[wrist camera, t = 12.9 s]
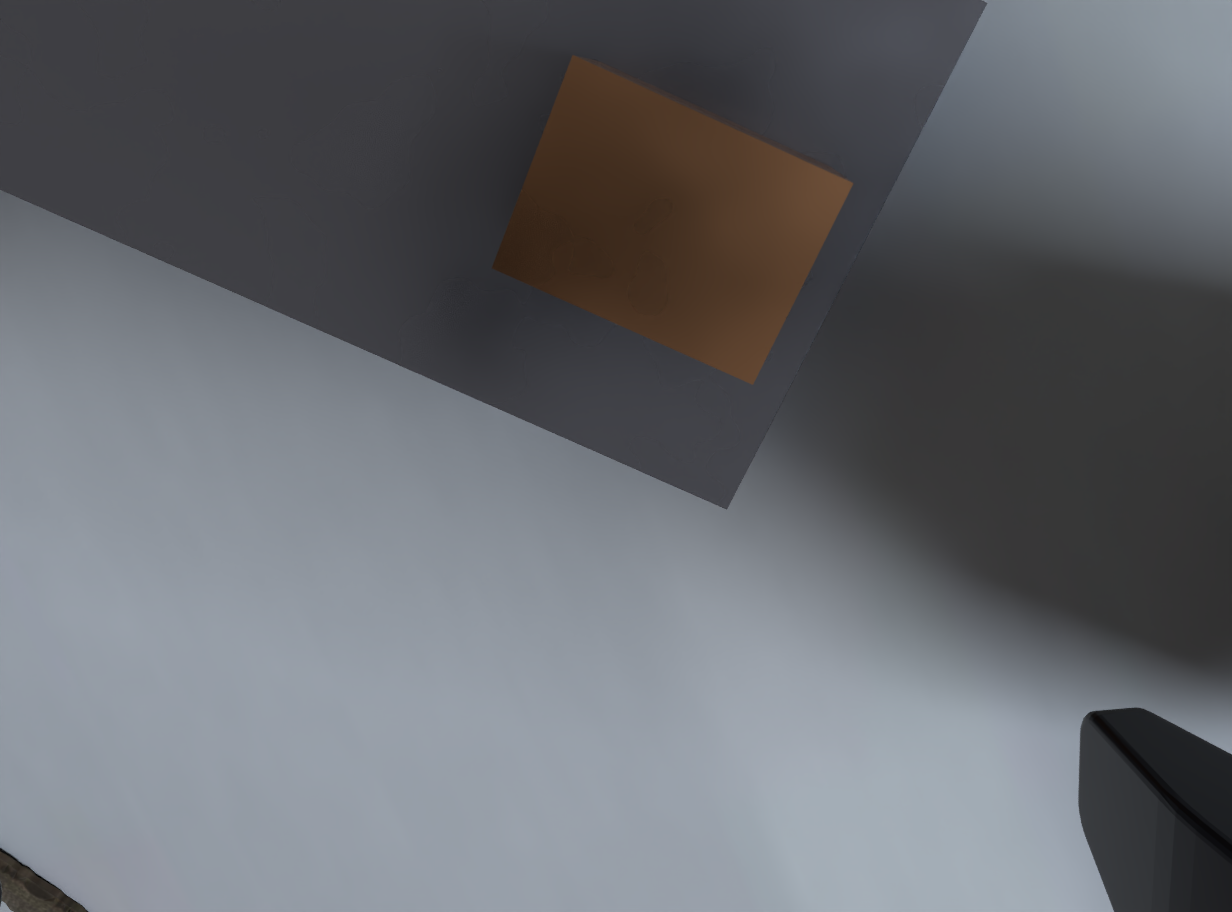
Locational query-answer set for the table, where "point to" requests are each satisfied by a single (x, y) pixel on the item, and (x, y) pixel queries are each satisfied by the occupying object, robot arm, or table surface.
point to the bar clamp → (31, 890)
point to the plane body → (501, 183)
